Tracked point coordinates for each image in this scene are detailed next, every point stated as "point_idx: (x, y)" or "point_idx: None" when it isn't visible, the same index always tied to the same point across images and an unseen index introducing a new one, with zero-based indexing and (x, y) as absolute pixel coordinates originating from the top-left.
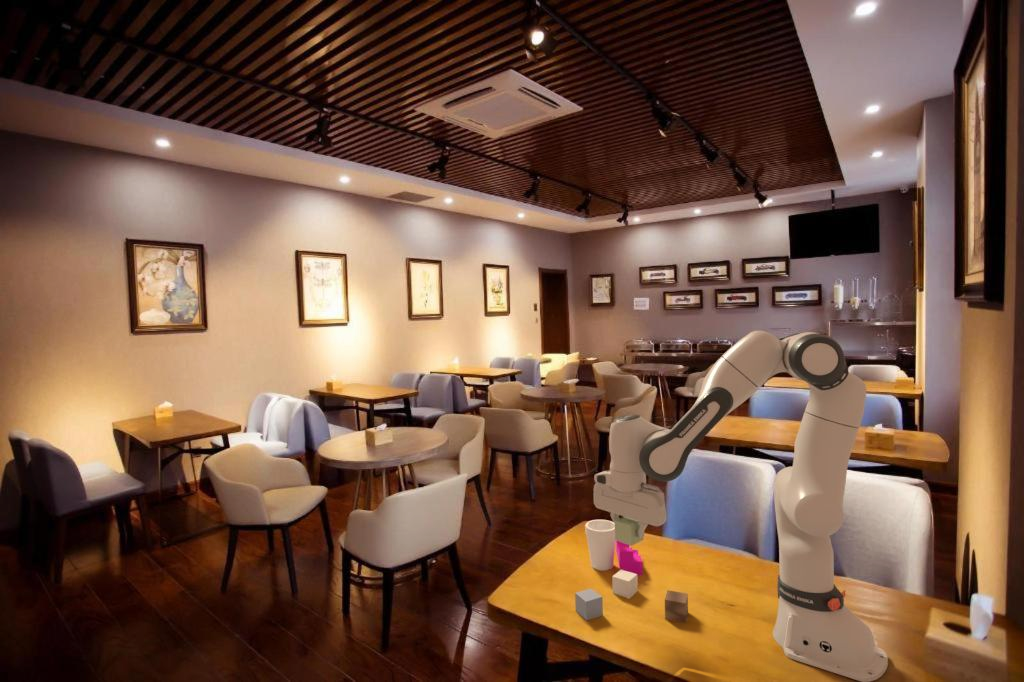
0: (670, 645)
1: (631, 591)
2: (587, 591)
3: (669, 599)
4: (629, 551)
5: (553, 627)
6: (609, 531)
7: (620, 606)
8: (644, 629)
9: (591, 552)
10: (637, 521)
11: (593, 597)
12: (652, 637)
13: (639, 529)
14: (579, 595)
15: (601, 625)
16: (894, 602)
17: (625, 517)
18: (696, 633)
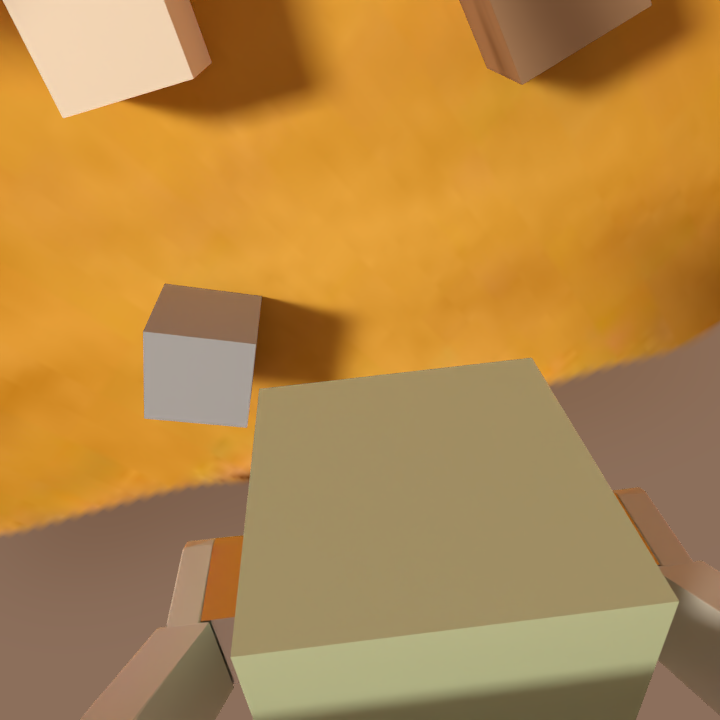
0: (612, 234)
1: (193, 30)
2: (164, 367)
3: (544, 54)
4: None
5: (219, 479)
6: None
7: (245, 168)
8: (465, 230)
9: None
10: (606, 680)
11: (234, 380)
12: (525, 249)
13: (683, 667)
14: (178, 417)
15: (318, 348)
16: None
17: (301, 712)
18: (677, 50)
